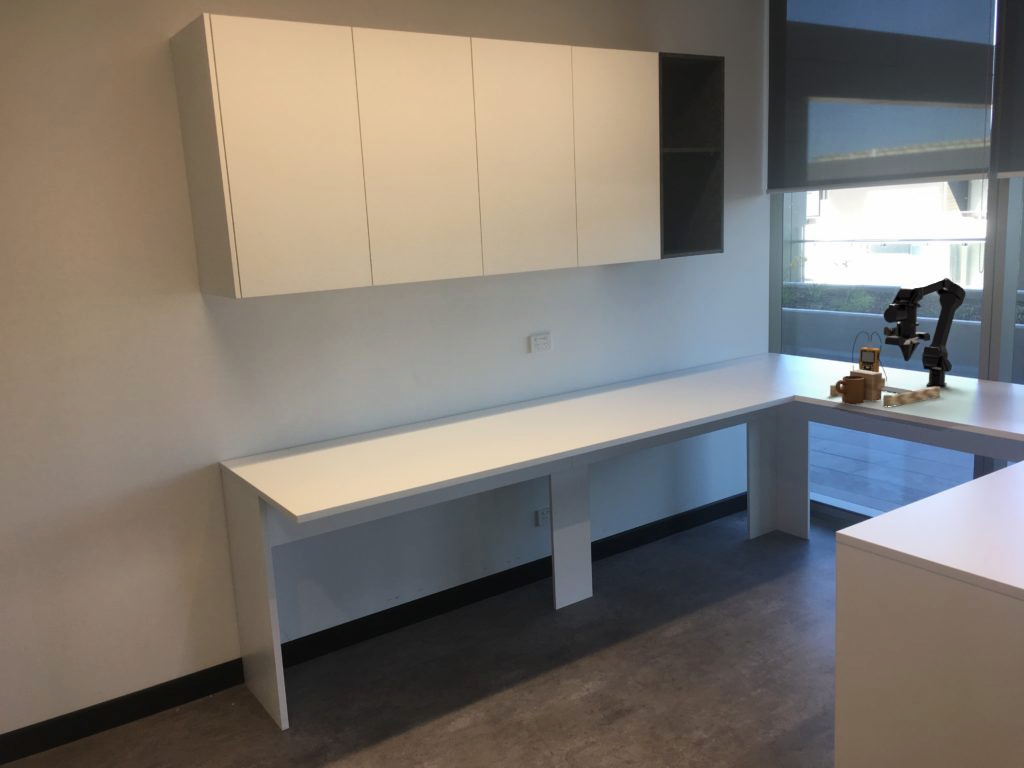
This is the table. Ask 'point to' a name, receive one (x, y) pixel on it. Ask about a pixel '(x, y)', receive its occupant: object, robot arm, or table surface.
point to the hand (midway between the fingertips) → (906, 361)
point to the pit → (894, 390)
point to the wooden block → (870, 384)
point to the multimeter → (869, 357)
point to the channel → (901, 395)
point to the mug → (851, 389)
